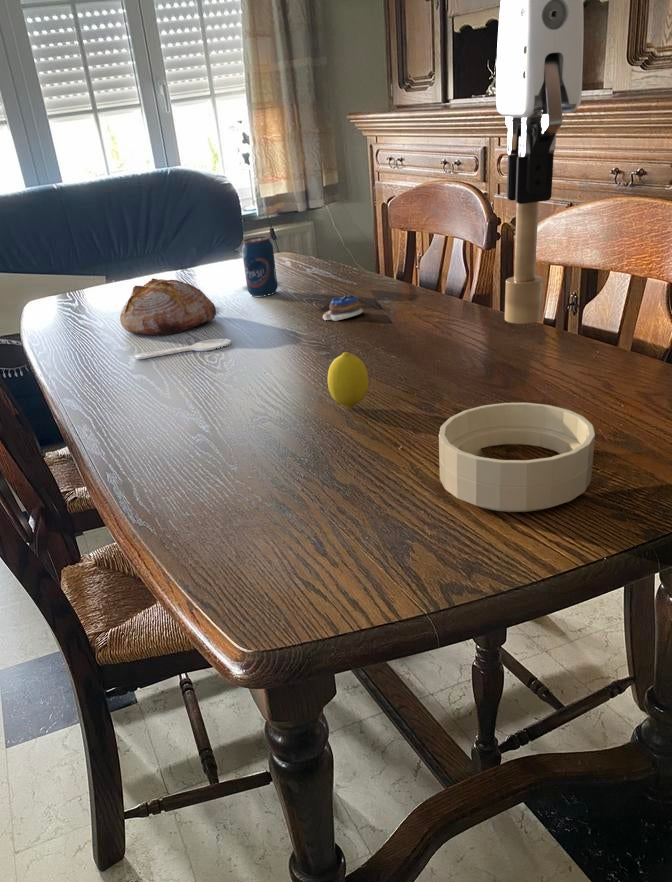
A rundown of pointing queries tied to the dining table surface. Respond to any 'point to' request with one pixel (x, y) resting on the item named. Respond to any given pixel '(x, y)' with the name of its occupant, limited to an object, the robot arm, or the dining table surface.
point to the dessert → (343, 308)
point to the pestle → (524, 268)
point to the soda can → (259, 266)
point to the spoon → (187, 348)
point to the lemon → (348, 380)
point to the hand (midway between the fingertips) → (528, 198)
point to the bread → (165, 308)
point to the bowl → (516, 479)
